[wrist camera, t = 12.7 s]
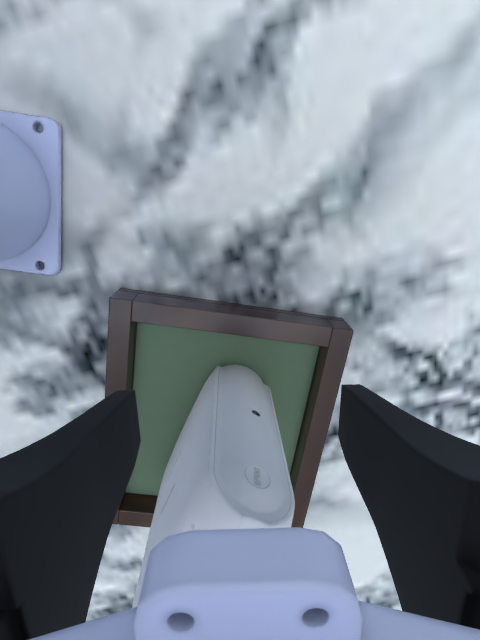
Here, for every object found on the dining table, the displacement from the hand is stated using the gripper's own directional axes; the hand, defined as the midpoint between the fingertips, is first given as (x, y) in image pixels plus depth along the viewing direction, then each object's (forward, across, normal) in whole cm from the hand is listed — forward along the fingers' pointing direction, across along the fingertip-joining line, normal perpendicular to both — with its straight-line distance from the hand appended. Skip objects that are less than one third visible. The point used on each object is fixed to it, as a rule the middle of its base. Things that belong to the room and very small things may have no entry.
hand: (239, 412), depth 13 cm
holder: (+10, +1, +6) cm, 12 cm away
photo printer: (+10, +2, +7) cm, 12 cm away
